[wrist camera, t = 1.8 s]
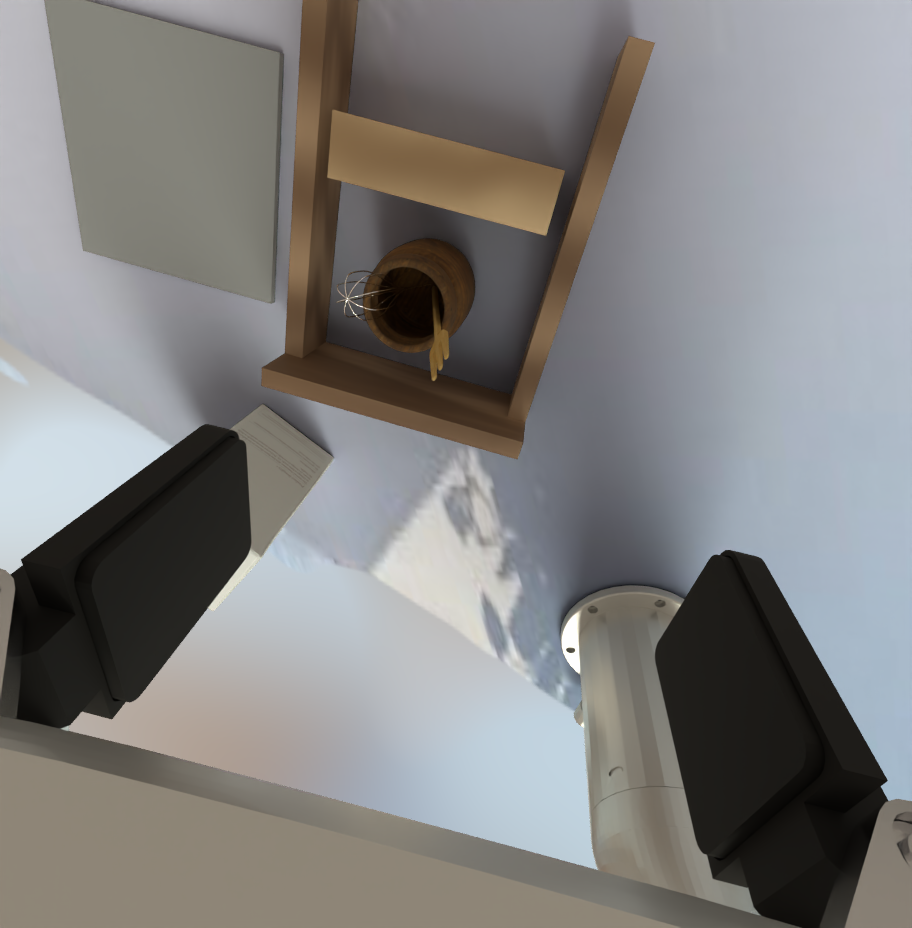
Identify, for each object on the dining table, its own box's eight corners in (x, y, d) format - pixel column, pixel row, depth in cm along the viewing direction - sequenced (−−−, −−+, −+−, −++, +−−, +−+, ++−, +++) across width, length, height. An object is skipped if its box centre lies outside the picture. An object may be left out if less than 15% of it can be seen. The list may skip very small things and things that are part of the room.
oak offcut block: (546, 228, 30) (545, 235, 26) (358, 178, 30) (327, 177, 26) (562, 173, 28) (565, 170, 24) (364, 120, 29) (332, 109, 24)
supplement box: (224, 458, 42) (113, 551, 32) (264, 400, 39) (154, 483, 28) (294, 510, 44) (211, 615, 33) (338, 459, 40) (261, 558, 30)
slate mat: (274, 302, 35) (271, 303, 34) (88, 249, 35) (83, 250, 35) (283, 54, 28) (279, 52, 27) (50, -9, 28) (42, -12, 28)
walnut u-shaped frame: (522, 413, 36) (517, 459, 30) (309, 352, 36) (261, 385, 30) (640, 62, 25) (669, 23, 19) (337, -19, 26) (273, -81, 20)
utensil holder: (413, 216, 31) (343, 232, 20) (498, 271, 31) (473, 313, 21) (375, 300, 34) (298, 351, 23) (454, 348, 34) (413, 418, 24)
